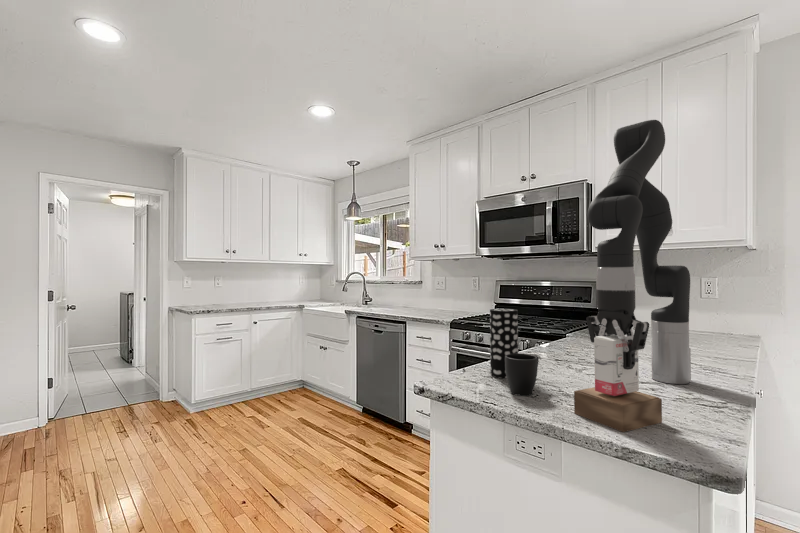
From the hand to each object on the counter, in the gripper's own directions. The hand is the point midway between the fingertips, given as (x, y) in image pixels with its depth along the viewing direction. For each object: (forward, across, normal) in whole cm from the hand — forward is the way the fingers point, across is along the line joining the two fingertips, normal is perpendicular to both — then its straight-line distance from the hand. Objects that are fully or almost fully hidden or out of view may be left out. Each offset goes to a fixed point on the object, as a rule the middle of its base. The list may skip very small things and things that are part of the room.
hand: (616, 365), depth 90 cm
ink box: (+6, 0, 0) cm, 6 cm away
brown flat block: (+11, 0, 0) cm, 11 cm away
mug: (+11, +24, +4) cm, 27 cm away
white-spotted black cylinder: (+11, +40, -2) cm, 42 cm away
